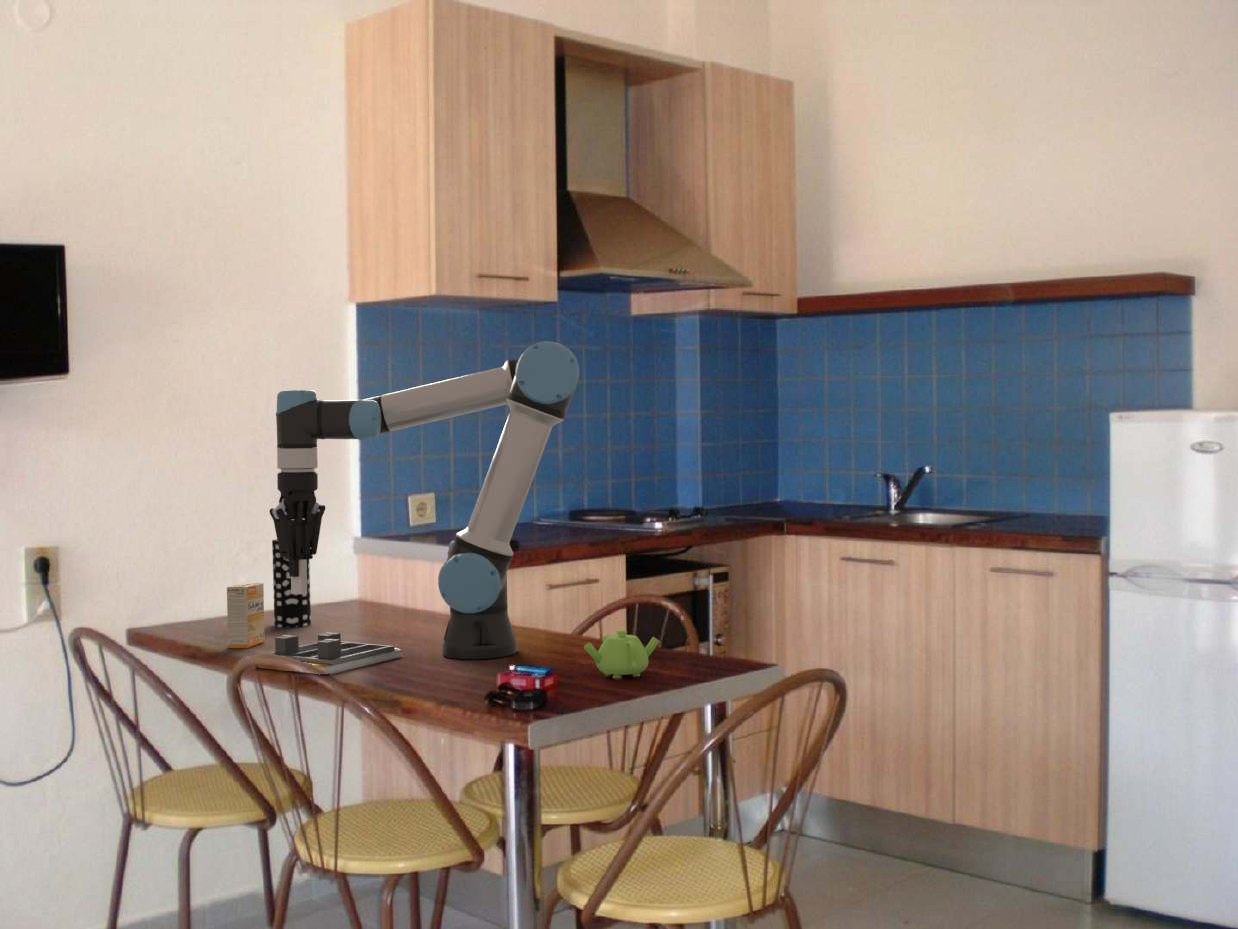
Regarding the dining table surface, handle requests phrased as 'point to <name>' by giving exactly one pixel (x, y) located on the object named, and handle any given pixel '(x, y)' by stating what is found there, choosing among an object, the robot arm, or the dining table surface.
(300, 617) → the spotted tube
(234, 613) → the supplement box
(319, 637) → the breaker mid
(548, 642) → the dining table surface
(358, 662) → the panel
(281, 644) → the breaker
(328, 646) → the breaker
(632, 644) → the teapot
